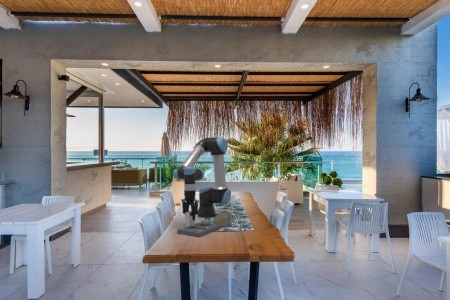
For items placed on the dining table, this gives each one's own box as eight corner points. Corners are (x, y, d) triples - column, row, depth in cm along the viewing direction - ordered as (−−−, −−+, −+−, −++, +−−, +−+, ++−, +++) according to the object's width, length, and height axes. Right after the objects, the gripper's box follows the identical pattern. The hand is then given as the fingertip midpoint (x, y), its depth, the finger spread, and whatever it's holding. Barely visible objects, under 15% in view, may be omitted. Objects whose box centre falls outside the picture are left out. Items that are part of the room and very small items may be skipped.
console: (177, 233, 216) (177, 225, 216) (199, 226, 236) (199, 219, 236) (199, 237, 206) (199, 229, 206) (220, 229, 227) (220, 221, 227)
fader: (185, 227, 221) (185, 211, 221) (190, 225, 226) (190, 210, 226) (189, 227, 219) (189, 212, 219) (194, 225, 224) (194, 211, 224)
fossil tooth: (212, 227, 238) (232, 224, 239) (212, 228, 232) (233, 226, 233) (210, 211, 238) (231, 208, 239) (210, 212, 232) (231, 209, 233)
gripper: (176, 189, 224) (177, 224, 224) (196, 191, 215) (196, 227, 215) (183, 188, 230) (184, 222, 230) (203, 190, 221) (203, 225, 222)
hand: (190, 224), depth 223 cm, fingers closed on fader, 3 cm apart
